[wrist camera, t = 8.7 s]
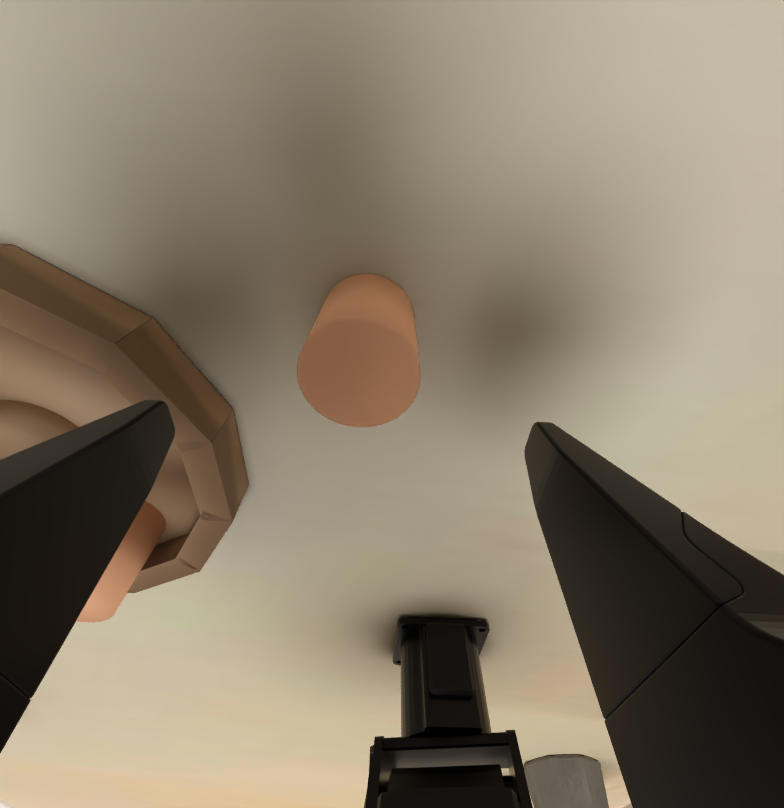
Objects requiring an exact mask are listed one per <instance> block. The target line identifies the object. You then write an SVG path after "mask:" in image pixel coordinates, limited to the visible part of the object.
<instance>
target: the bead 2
mask: <svg viewBox="0 0 784 808" xmlns="http://www.w3.org/2000/svg"><path fill="white" fill-rule="evenodd" d="M297 377H298V382H299V385H300V389H301V391H302V393H303V395H304V396H305V398H306V399H307V401H308V402H309V403H310V405H311V406H312V407H313V408H314V409H315V410H316V411H318V412H319V413H320V414H322V415H323V416H325V417H326V418H328V419H330V420H332V421H334V422H337V423H340V424H343V425H347V426H353V427H371V426H377V425H381V424H384V423H387V422H389V421H391V420H393V419H395V418H397V417H398V416H400V415H401V414H402V413H403V412H405V410H406V409H407V408H408V407H409V406H410V405H411V403H412V402H413V401H414V399H415V397H416V395H417V392H418V389H419V385H420V367H419V358H418V348H417V338H416V329H415V319H414V311H413V307H412V304H411V302H410V300H409V298H408V296H407V295H406V293H405V292H404V291H403V290H402V289H401V288H400V287H399V286H398V285H397V284H396V283H394V282H393V281H391V280H389V279H387V278H385V277H383V276H379V275H375V274H358V275H354V276H351V277H348V278H346V279H344V280H342V281H341V282H339V283H338V284H337V285H336V286H335V287H334V288H333V289H332V290H331V291H330V293H329V294H328V296H327V298H326V300H325V302H324V304H323V306H322V308H321V311H320V313H319V315H318V317H317V319H316V321H315V323H314V325H313V328H312V330H311V332H310V334H309V336H308V338H307V340H306V342H305V344H304V347H303V349H302V351H301V353H300V356H299V359H298V365H297Z"/></svg>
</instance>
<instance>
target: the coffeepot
mask: <svg viewBox="0 0 784 808" xmlns="http://www.w3.org/2000/svg"><path fill="white" fill-rule="evenodd" d="M524 772H525V777H526V781H527V785H528V789H529V793H530V796H531V799H532V802H533V805H534V808H609V806H608V801H607V796H606V791H605V786H604V781H603V776H602V771H601V766H600V763H598V762H597V761H596V760H594V759H593V758H590V757H587V756H582V755H573V754H563V755H551V756H545V757H540V758H536V759H534V760H531V761H529V762H527V763H526V764H525V765H524Z"/></svg>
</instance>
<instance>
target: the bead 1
mask: <svg viewBox="0 0 784 808" xmlns="http://www.w3.org/2000/svg"><path fill="white" fill-rule="evenodd" d="M165 529H166V521H165V518H164V516H163V515H162V513H161V512H160V511H159V510H158V509H157V508H156V507H154V506H153V505H152V504H150V503H148V502H146V501H145V502H144V504H143V506H142V507H141V509H140V511H139V513H138V514H137V516H136V518H135V520H134V521H133V523H132V525H131V526H130V528H129V530H128V532H127V533H126V535H125V537H124V539H123V540H122V542H121V544H120V546H119V547H118V549H117V551H116V553H115V554H114V556H113V558H112V560H111V561H110V563H109V565H108V566H107V568H106V570H105V572H104V573H103V575H102V577H101V579H100V580H99V582H98V584H97V586H96V587H95V589H94V591H93V593H92V594H91V596H90V598H89V599H88V601H87V603H86V605H85V606H84V608H83V610H82V612H81V613H80V615H79V617H78V619H77V620H76V621H80V622H99V621H104V620H107V619H109V618H111V617H112V616H113V615H114V614H115V612H116V610H117V609H118V607H119V605H120V604H121V602H122V600H123V599H124V597H125V595H126V594H127V592H128V590H129V589H130V587H131V585H132V584H133V582H134V580H135V579H136V577H137V575H138V574H139V572H140V570H141V569H142V567H143V566H144V564H145V562H146V561H147V559H148V557H149V556H150V554H151V552H152V551H153V549H154V547H155V546H156V544H157V542H158V541H159V539H160V537H161V536H162V534H163V532H164V531H165Z"/></svg>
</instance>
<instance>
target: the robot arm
mask: <svg viewBox="0 0 784 808" xmlns="http://www.w3.org/2000/svg"><path fill="white" fill-rule="evenodd" d="M174 437H175V426H174V423H173V419H172V416H171V413H170V410H169V407H168V405H167V403H166V402H165V401H163V400H144V401H141V402H139V403H136V404H134V405H131V406H129V407H127V408H124V409H122V410H119V411H117V412H114V413H112V414H110V415H107V416H105V417H102V418H100V419H97V420H95V421H93V422H90V423H88V424H85V425H83V426H80V427H78V428H76V429H73V430H71V431H68V432H66V433H64V434H61V435H59V436H56V437H54V438H51V439H49V440H47V441H44V442H42V443H39V444H37V445H34V446H32V447H30V448H27V449H25V450H22V451H20V452H17V453H15V454H13V455H10V456H8V457H5V458H3V459H0V753H1V751H2V750H3V748H4V746H5V744H6V743H7V741H8V739H9V737H10V736H11V734H12V732H13V730H14V729H15V727H16V725H17V723H18V722H19V720H20V718H21V717H22V715H23V713H24V711H25V710H26V708H27V706H28V704H29V703H30V699H29V698H32V697H33V695H34V693H35V692H36V690H37V688H38V686H39V685H40V683H41V681H42V679H43V678H44V676H45V674H46V672H47V671H48V669H49V667H50V666H51V664H52V662H53V660H54V659H55V657H56V655H57V653H58V652H59V650H60V648H61V646H62V645H63V643H64V641H65V639H66V638H67V636H68V634H69V633H70V631H71V629H72V627H73V626H74V624H75V622H76V620H77V619H78V617H79V615H80V613H81V612H82V610H83V608H84V606H85V605H86V603H87V601H88V599H89V598H90V596H91V594H92V593H93V591H94V589H95V587H96V586H97V584H98V582H99V580H100V579H101V577H102V575H103V573H104V572H105V570H106V568H107V566H108V565H109V563H110V561H111V560H112V558H113V556H114V554H115V553H116V551H117V549H118V547H119V546H120V544H121V542H122V540H123V539H124V537H125V535H126V533H127V532H128V530H129V528H130V526H131V525H132V523H133V521H134V520H135V518H136V516H137V514H138V513H139V511H140V509H141V507H142V506H143V504H144V502H145V500H146V499H147V497H148V495H149V493H150V491H151V489H152V487H153V485H154V483H155V481H156V479H157V476H158V474H159V472H160V469H161V467H162V465H163V462H164V460H165V458H166V456H167V453H168V451H169V449H170V446H171V444H172V442H173V439H174ZM525 460H526V465H527V470H528V475H529V480H530V485H531V490H532V495H533V500H534V505H535V509H536V512H537V516H538V519H539V522H540V525H541V528H542V531H543V534H544V537H545V540H546V543H547V547H548V550H549V553H550V556H551V559H552V562H553V565H554V568H555V571H556V574H557V577H558V580H559V583H560V586H561V589H562V592H563V595H564V598H565V601H566V604H567V607H568V611H569V614H570V617H571V620H572V623H573V626H574V629H575V632H576V635H577V638H578V641H579V644H580V647H581V650H582V653H583V656H584V659H585V662H586V665H587V668H588V672H589V675H590V678H591V681H592V684H593V687H594V690H595V693H596V696H597V699H598V702H599V705H600V708H601V711H602V714H603V717H604V718H605V719H606V720H605V724H606V727H607V730H608V733H609V736H610V739H611V742H612V746H613V749H614V752H615V755H616V758H617V761H618V764H619V767H620V770H621V773H622V776H623V779H624V782H625V785H626V788H627V791H628V794H629V797H630V800H631V803H632V806H633V808H784V575H783V574H781V573H780V572H778V571H776V570H775V569H773V568H771V567H770V566H768V565H767V564H765V563H763V562H762V561H760V560H758V559H757V558H755V557H753V556H752V555H750V554H749V553H747V552H745V551H744V550H742V549H740V548H739V547H737V546H736V545H734V544H732V543H731V542H729V541H727V540H726V539H724V538H723V537H721V536H720V535H718V534H717V533H715V532H714V531H712V530H711V529H709V528H708V527H706V526H705V525H703V524H701V523H700V522H698V521H697V520H696V519H694V518H693V517H691V516H690V515H688V514H687V513H685V512H681V510H680V509H679V508H678V507H676V506H675V505H673V504H672V503H670V502H669V501H667V500H666V499H664V498H663V497H661V496H660V495H658V494H657V493H655V492H654V491H652V490H651V489H650V488H648V487H647V486H645V485H644V484H642V483H641V482H639V481H638V480H636V479H635V478H633V477H632V476H630V475H629V474H627V473H626V472H624V471H623V470H621V469H620V468H618V467H617V466H615V465H614V464H612V463H611V462H609V461H608V460H606V459H605V458H603V457H602V456H601V455H599V454H598V453H596V452H595V451H593V450H592V449H590V448H589V447H587V446H586V445H584V444H583V443H581V442H580V441H578V440H577V439H575V438H574V437H572V436H571V435H569V434H568V433H566V432H565V431H563V430H562V429H560V428H559V427H557V426H556V425H555V424H553V423H550V422H536V423H534V424H533V426H532V428H531V431H530V434H529V437H528V440H527V443H526V446H525ZM488 632H489V625H488V622H486V621H476V620H452V619H429V618H400V619H399V620H398V624H397V631H396V638H395V645H394V652H393V663H394V664H396V665H401V737H397V738H384V736H379V737H375V741H374V745H373V746H371V747H370V765H369V778H368V788H367V794H366V799H365V805H364V808H533V807H532V803H531V799H530V794H529V790H528V785H527V781H526V777H525V772H524V768H523V764H522V759H521V755H520V750H519V746H518V742H517V737H516V733H515V730H506V732H501V733H491V727H490V721H489V715H488V709H487V702H486V696H485V690H484V684H483V678H482V672H481V666H480V660H479V654H480V652H481V649H482V647H483V645H484V642H485V640H486V637H487V635H488ZM501 768H509V772H510V775H507V776H502V771H501Z"/></svg>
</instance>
